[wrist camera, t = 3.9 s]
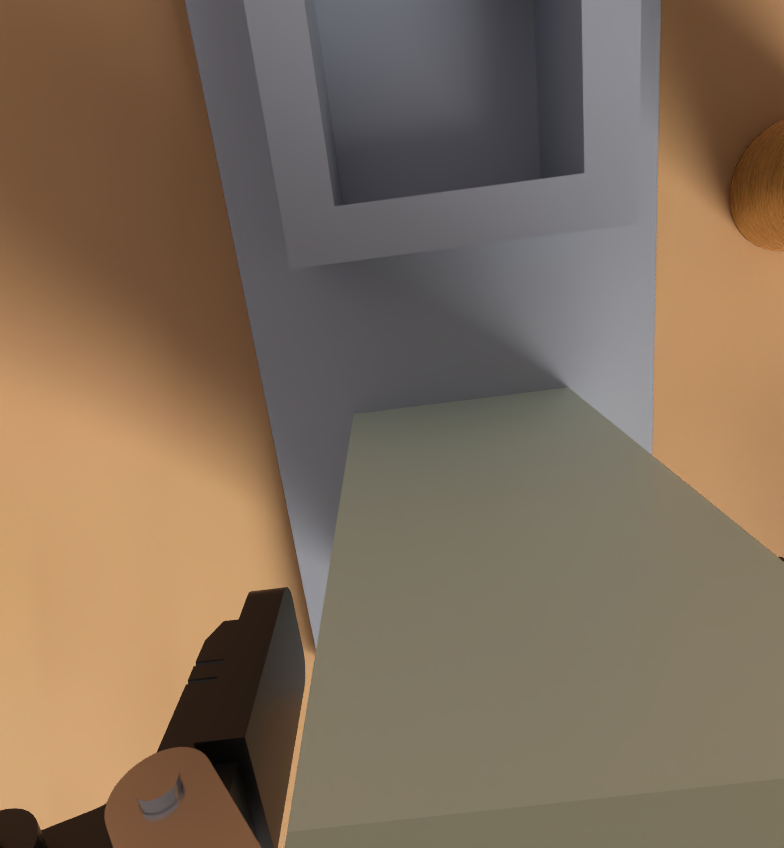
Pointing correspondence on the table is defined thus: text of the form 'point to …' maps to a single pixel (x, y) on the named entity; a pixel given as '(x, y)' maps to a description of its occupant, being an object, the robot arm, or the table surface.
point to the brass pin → (761, 190)
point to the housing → (538, 644)
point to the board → (433, 213)
